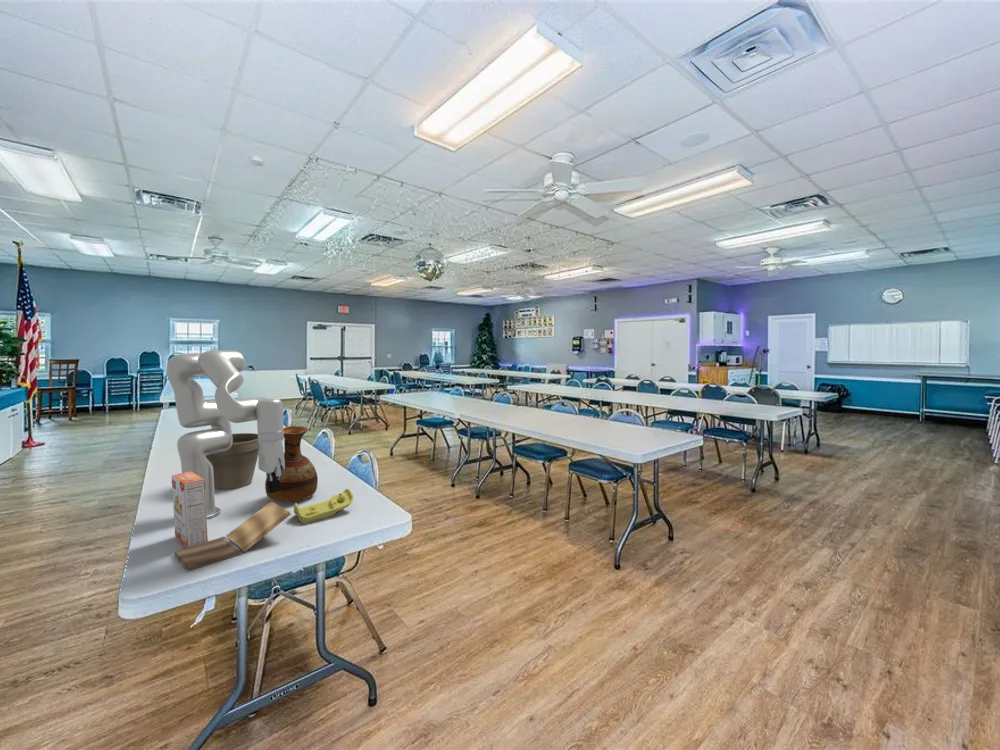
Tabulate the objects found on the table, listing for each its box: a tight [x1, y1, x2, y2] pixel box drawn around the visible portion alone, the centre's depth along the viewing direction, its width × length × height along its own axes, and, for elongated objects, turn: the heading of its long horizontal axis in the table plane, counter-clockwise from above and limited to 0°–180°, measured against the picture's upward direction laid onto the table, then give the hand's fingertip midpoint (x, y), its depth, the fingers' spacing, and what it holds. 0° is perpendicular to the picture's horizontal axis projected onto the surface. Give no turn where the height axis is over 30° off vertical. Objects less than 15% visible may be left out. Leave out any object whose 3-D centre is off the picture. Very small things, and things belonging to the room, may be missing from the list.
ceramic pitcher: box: [264, 425, 319, 503], centre depth 177 cm, size 20×20×30 cm
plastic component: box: [293, 488, 354, 524], centre depth 160 cm, size 20×7×10 cm
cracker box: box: [171, 472, 209, 548], centre depth 137 cm, size 14×6×21 cm, turn 50°
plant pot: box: [206, 432, 259, 491], centre depth 194 cm, size 25×25×22 cm
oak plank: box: [225, 500, 292, 553], centre depth 138 cm, size 16×14×2 cm
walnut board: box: [174, 536, 241, 572], centre depth 127 cm, size 14×13×2 cm
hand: (273, 491), depth 141 cm, fingers closed
